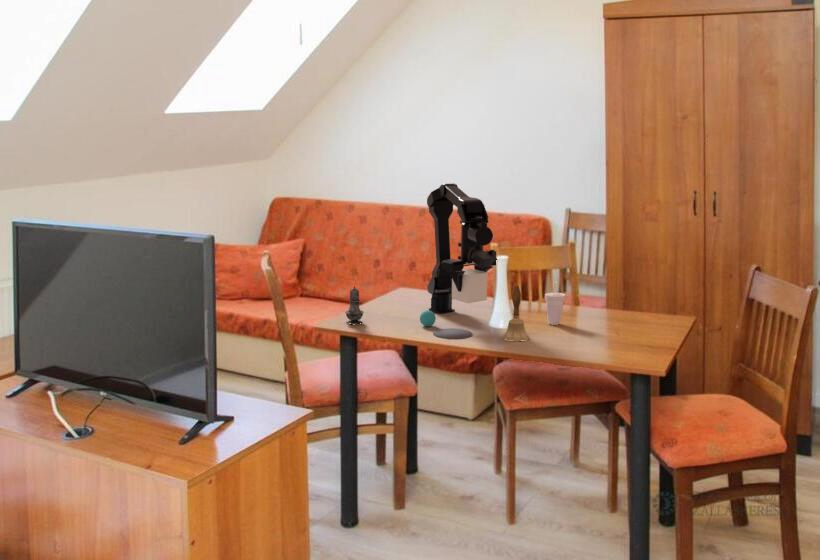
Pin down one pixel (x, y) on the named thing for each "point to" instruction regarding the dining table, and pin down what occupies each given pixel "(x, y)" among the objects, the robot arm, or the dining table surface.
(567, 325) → the dining table surface
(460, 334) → the disc
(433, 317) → the ball
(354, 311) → the salt shaker
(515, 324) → the hand bell
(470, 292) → the white block
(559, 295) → the smoothie
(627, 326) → the dining table surface
